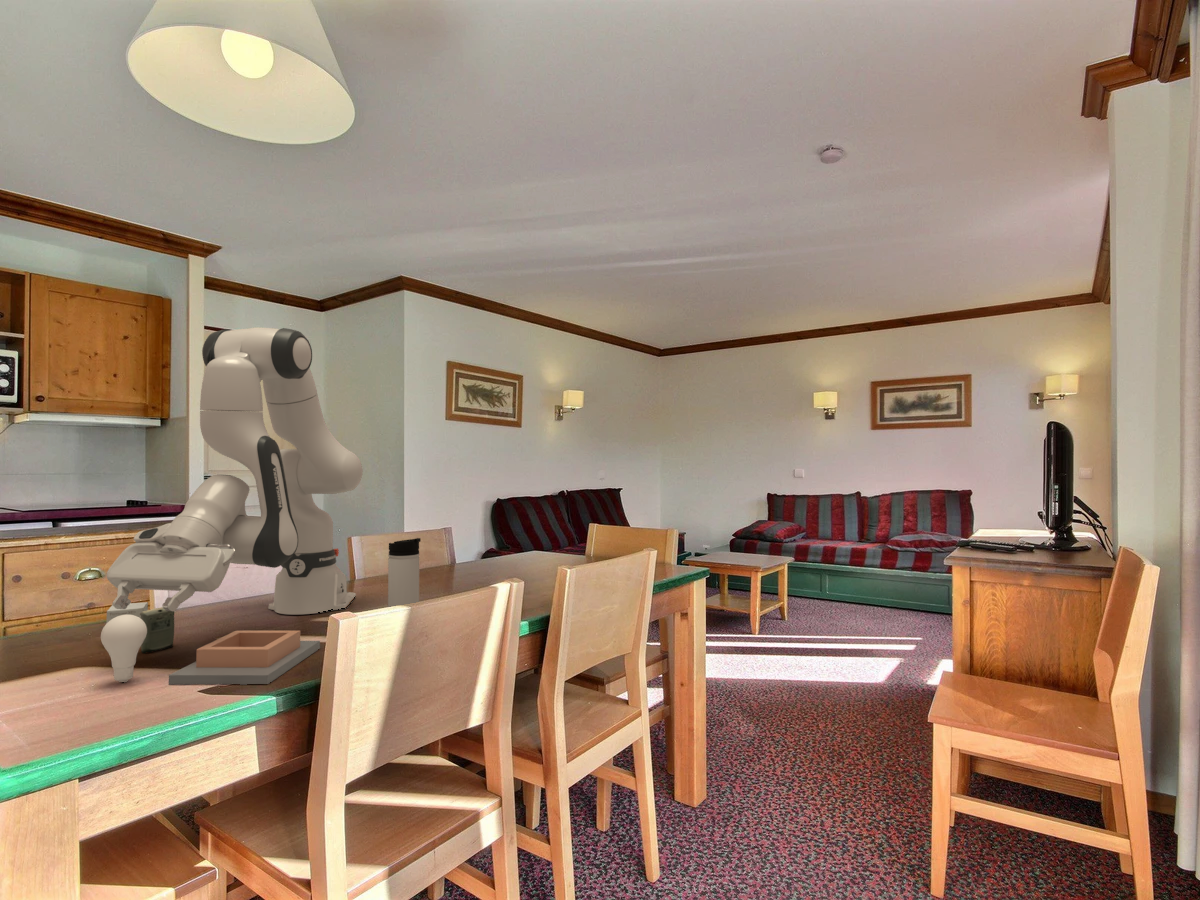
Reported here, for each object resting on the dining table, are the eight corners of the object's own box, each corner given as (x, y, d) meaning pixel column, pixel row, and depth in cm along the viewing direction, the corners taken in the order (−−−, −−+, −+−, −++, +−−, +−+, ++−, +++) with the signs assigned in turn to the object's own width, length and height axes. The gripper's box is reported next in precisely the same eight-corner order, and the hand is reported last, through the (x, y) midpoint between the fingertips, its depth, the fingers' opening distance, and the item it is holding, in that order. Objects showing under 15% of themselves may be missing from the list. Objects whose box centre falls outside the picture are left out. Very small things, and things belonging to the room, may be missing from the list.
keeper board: (236, 648, 125) (237, 625, 125) (319, 648, 125) (320, 625, 125) (168, 684, 105) (169, 656, 105) (267, 684, 105) (267, 656, 105)
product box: (105, 648, 125) (105, 610, 125) (111, 640, 130) (111, 604, 130) (143, 644, 128) (144, 607, 128) (148, 637, 133) (148, 601, 133)
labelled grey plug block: (159, 654, 121) (159, 611, 121) (131, 654, 121) (131, 611, 121) (178, 645, 127) (179, 604, 127) (151, 645, 127) (152, 604, 127)
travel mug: (411, 638, 132) (412, 540, 133) (382, 636, 134) (382, 539, 134) (425, 630, 139) (426, 536, 139) (397, 628, 140) (398, 536, 140)
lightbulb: (115, 691, 102) (116, 621, 102) (91, 686, 104) (92, 617, 104) (155, 678, 108) (155, 612, 108) (130, 674, 110) (131, 609, 110)
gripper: (247, 555, 120) (208, 621, 110) (149, 552, 123) (101, 616, 113) (231, 534, 116) (188, 600, 106) (129, 531, 119) (78, 595, 109)
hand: (142, 608), depth 110 cm, fingers open, 8 cm apart
